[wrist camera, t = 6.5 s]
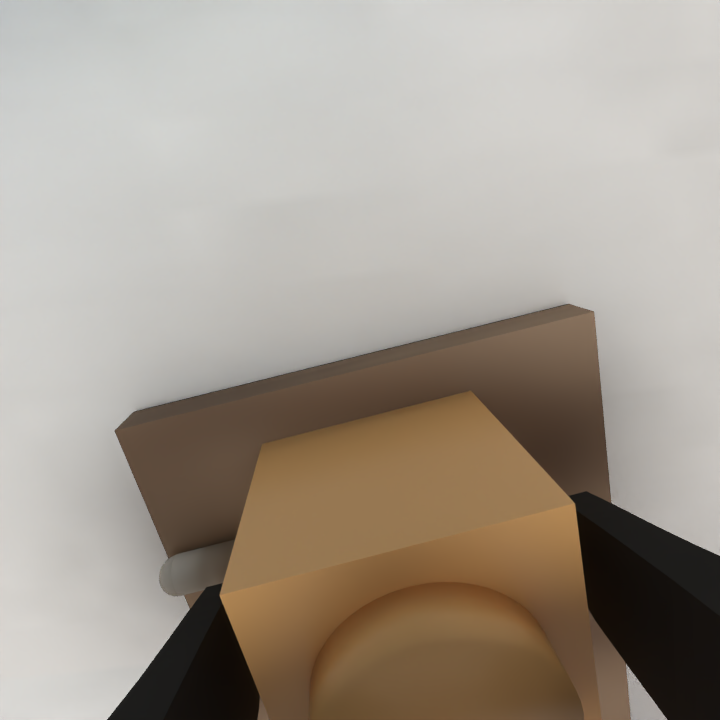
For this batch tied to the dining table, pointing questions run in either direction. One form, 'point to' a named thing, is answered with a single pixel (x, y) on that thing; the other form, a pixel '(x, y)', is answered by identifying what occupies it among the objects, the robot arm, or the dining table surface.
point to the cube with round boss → (411, 574)
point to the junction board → (364, 399)
